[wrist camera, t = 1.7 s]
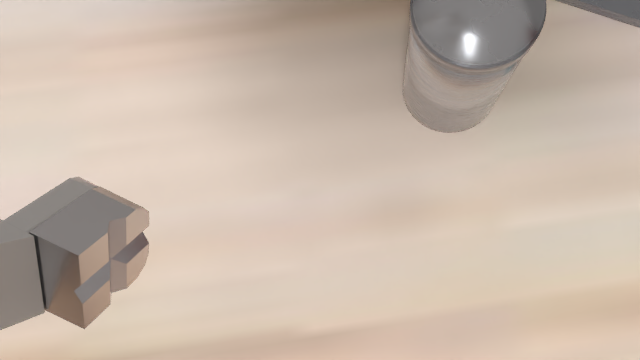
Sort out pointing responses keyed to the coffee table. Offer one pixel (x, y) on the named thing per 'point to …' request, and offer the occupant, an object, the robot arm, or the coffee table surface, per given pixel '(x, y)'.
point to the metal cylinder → (465, 57)
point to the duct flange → (611, 9)
